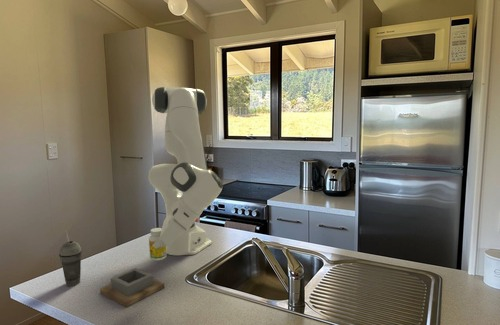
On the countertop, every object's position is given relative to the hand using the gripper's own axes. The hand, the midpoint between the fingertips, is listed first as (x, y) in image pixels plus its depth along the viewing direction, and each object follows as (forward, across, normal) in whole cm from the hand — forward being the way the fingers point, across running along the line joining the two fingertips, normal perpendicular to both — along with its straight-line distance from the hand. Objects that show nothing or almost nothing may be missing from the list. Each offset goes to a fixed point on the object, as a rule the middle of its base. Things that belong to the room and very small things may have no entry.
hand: (155, 242), depth 112 cm
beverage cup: (+35, -12, -9) cm, 38 cm away
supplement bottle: (+3, 0, +4) cm, 5 cm away
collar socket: (+19, -4, +6) cm, 20 cm away
